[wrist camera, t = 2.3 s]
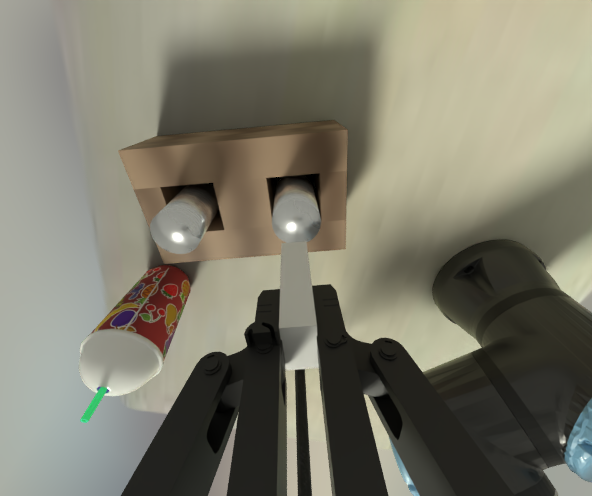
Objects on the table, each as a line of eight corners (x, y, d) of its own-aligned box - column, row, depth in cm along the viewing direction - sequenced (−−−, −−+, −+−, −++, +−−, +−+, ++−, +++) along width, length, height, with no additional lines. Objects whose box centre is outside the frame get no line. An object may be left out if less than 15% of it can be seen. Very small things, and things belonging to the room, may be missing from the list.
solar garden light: (270, 342, 48) (250, 632, 23) (336, 347, 49) (388, 628, 24) (266, 383, 55) (246, 645, 29) (324, 386, 56) (356, 641, 30)
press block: (333, 119, 30) (347, 129, 23) (334, 218, 36) (345, 249, 29) (156, 136, 30) (118, 150, 23) (187, 230, 36) (164, 263, 29)
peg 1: (215, 179, 28) (192, 208, 21) (224, 215, 30) (205, 252, 23) (177, 183, 28) (142, 213, 21) (188, 218, 30) (159, 255, 23)
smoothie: (138, 253, 38) (14, 389, 21) (198, 260, 39) (126, 397, 22) (144, 297, 42) (47, 441, 25) (199, 303, 43) (140, 445, 26)
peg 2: (312, 171, 27) (320, 198, 21) (314, 207, 29) (321, 242, 23) (273, 174, 27) (268, 202, 21) (278, 210, 29) (275, 246, 23)
